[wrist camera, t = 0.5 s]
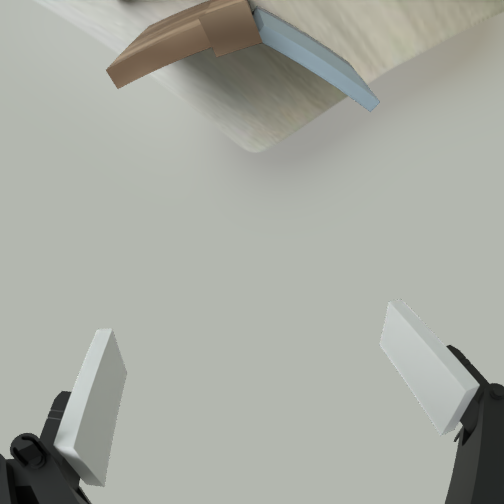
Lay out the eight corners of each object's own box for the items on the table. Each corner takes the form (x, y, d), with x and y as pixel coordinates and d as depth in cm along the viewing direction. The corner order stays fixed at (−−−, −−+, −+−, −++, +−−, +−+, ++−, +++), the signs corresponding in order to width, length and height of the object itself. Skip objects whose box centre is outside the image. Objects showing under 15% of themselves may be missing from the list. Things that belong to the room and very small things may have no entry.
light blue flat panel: (249, 16, 29) (254, 39, 22) (257, 5, 28) (264, 24, 21) (341, 71, 35) (370, 112, 28) (348, 62, 34) (380, 101, 27)
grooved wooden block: (146, 21, 28) (98, 67, 19) (242, -17, 26) (246, 1, 16) (158, 43, 31) (119, 100, 22) (252, 8, 28) (262, 42, 19)
